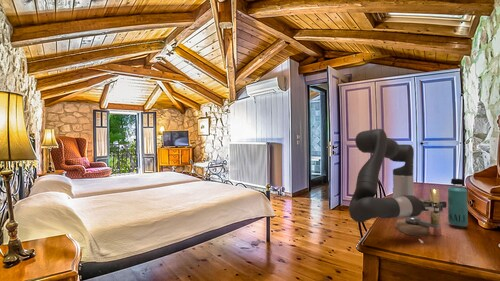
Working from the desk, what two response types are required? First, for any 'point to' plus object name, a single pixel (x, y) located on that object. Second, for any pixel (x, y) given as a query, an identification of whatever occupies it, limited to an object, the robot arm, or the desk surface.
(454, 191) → the beverage bottle
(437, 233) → the post
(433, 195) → the crank
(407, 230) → the crank plinth
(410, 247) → the desk surface
